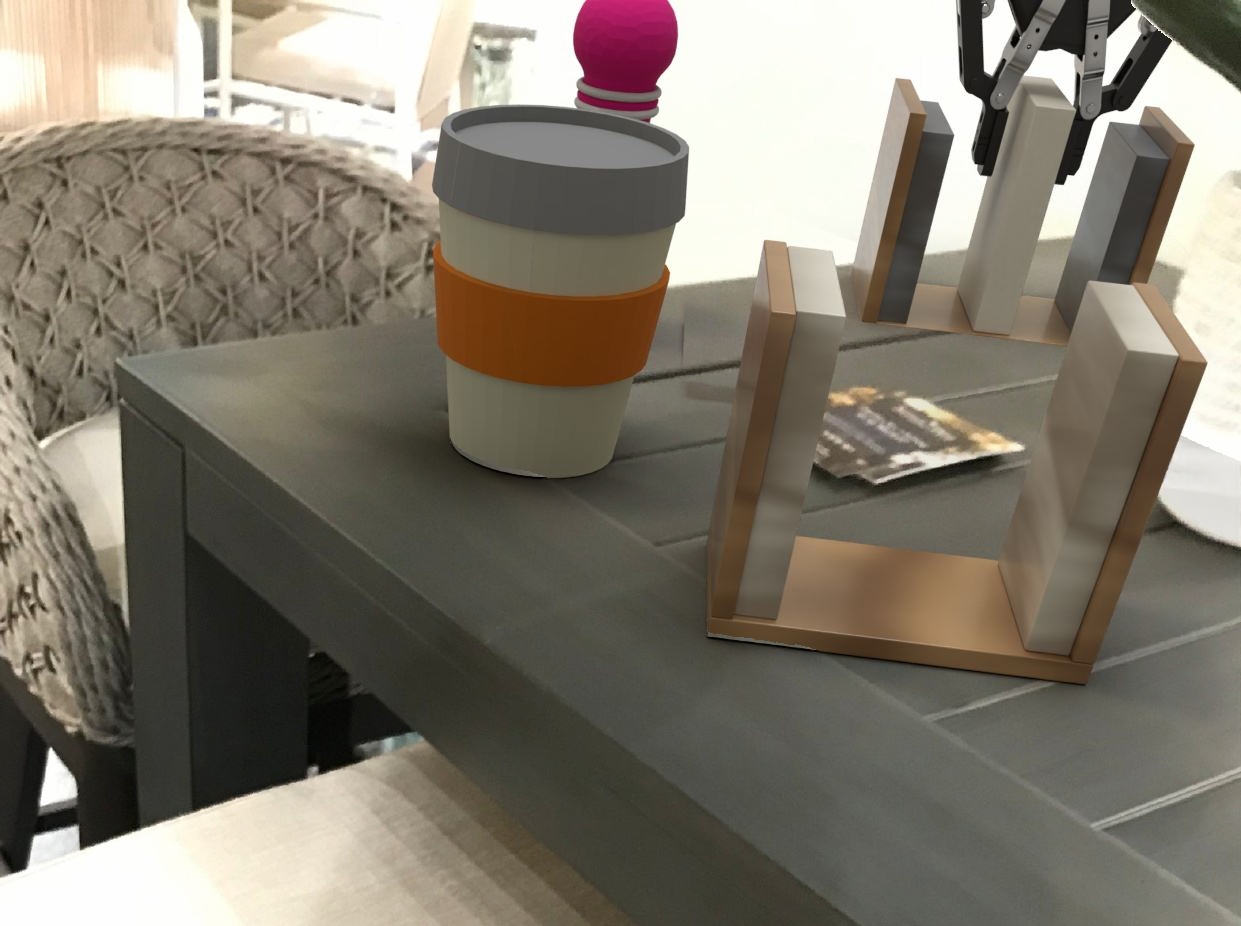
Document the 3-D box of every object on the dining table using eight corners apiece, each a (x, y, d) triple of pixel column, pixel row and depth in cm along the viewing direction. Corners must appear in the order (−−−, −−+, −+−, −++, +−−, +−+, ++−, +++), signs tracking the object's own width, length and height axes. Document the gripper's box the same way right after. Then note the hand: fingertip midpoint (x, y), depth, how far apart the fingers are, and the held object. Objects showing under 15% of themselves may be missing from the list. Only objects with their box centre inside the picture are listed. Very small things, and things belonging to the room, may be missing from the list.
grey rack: (1091, 318, 113) (1160, 107, 104) (1119, 367, 105) (1195, 144, 96) (847, 290, 113) (895, 77, 105) (857, 336, 106) (910, 112, 97)
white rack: (1050, 586, 79) (1155, 284, 70) (1086, 685, 72) (1208, 362, 63) (706, 543, 80) (764, 238, 71) (706, 637, 73) (771, 310, 63)
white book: (991, 293, 112) (1052, 78, 103) (1009, 335, 105) (1076, 109, 96) (956, 289, 112) (1014, 74, 103) (972, 331, 105) (1036, 105, 97)
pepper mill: (664, 325, 104) (722, -45, 91) (611, 353, 100) (665, -33, 86) (567, 298, 107) (610, -66, 94) (511, 324, 102) (548, -55, 89)
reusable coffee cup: (677, 434, 91) (728, 134, 81) (597, 512, 82) (644, 186, 72) (473, 385, 94) (498, 90, 84) (376, 455, 85) (390, 135, 75)
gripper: (997, -164, 89) (914, 180, 101) (1257, -136, 89) (1144, 206, 100) (979, -176, 95) (902, 151, 106) (1224, -150, 94) (1120, 175, 106)
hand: (1020, 176), depth 103 cm, fingers open, 4 cm apart
